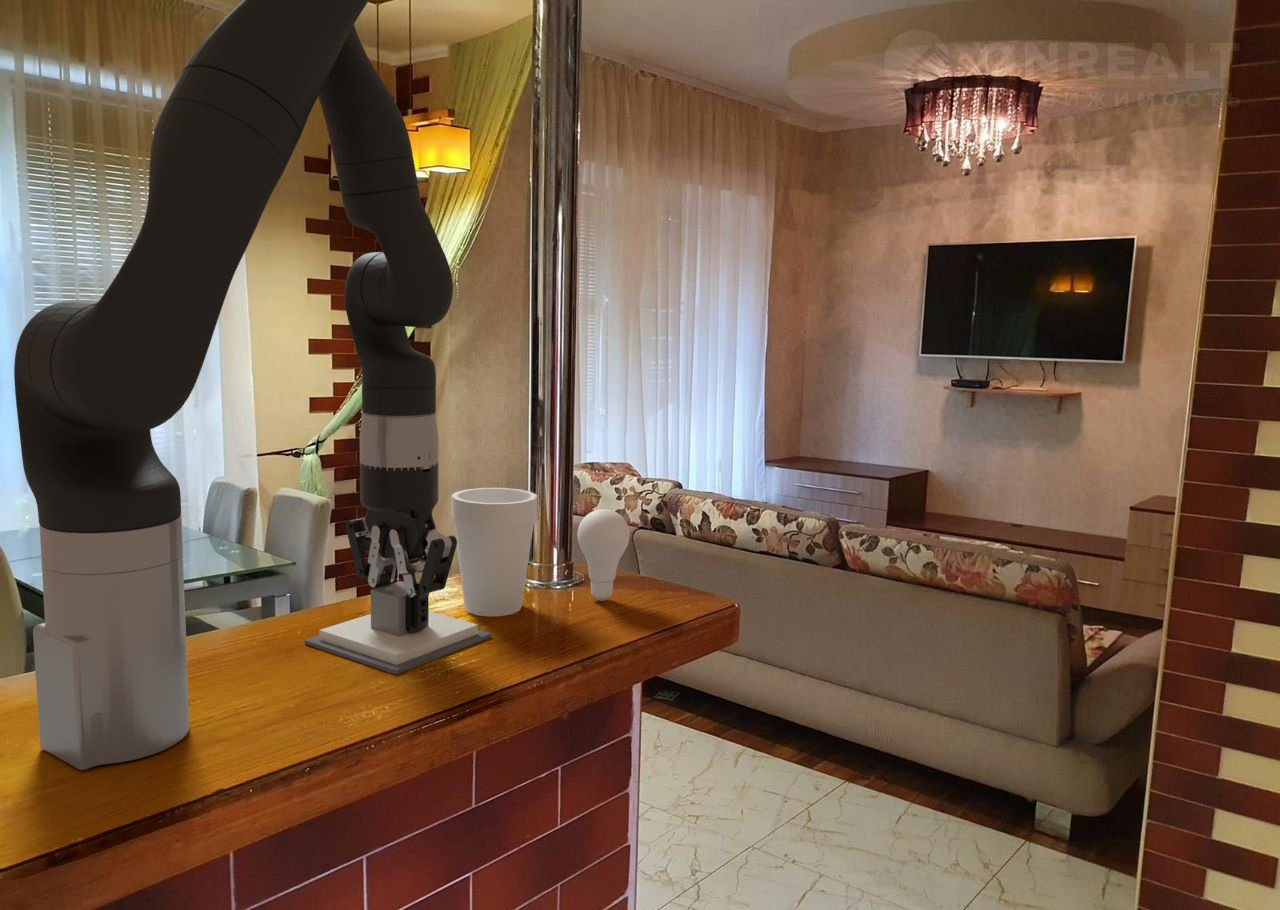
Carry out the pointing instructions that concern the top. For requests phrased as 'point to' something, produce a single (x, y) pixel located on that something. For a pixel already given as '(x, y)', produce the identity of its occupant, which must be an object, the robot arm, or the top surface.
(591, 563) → the lightbulb
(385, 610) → the cover
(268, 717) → the top surface
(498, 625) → the top surface
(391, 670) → the mat
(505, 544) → the foam cup
